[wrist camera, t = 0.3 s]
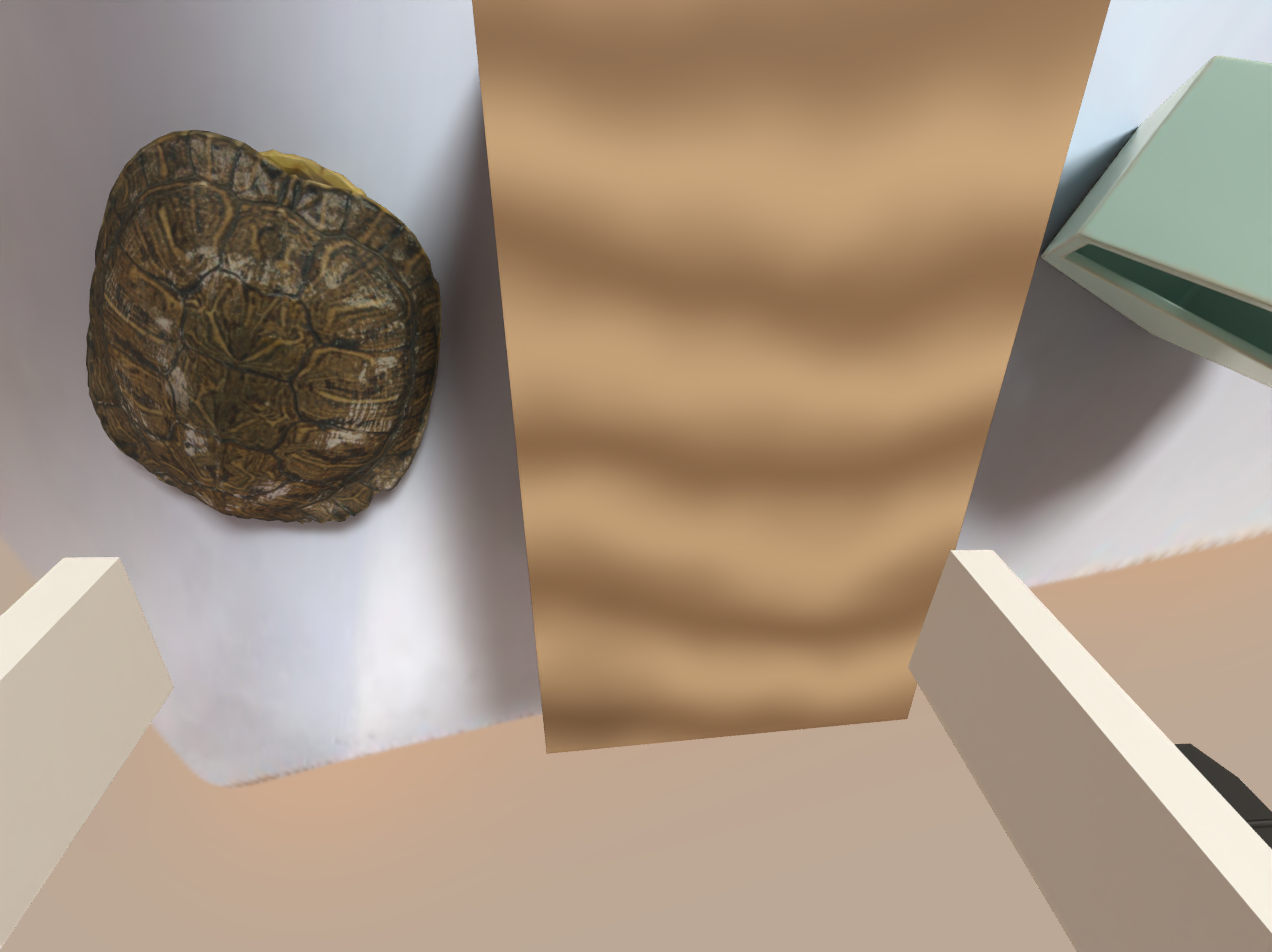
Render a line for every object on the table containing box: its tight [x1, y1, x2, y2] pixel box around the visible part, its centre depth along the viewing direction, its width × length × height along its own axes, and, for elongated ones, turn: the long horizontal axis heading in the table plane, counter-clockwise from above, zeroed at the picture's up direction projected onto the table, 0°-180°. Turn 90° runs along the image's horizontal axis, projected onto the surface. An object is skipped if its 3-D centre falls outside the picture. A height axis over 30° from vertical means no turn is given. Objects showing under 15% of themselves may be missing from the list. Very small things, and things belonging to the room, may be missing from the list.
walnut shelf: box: [472, 0, 1110, 753], centre depth 31 cm, size 30×18×16 cm, turn 0°
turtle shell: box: [86, 130, 441, 524], centre depth 33 cm, size 16×9×20 cm
